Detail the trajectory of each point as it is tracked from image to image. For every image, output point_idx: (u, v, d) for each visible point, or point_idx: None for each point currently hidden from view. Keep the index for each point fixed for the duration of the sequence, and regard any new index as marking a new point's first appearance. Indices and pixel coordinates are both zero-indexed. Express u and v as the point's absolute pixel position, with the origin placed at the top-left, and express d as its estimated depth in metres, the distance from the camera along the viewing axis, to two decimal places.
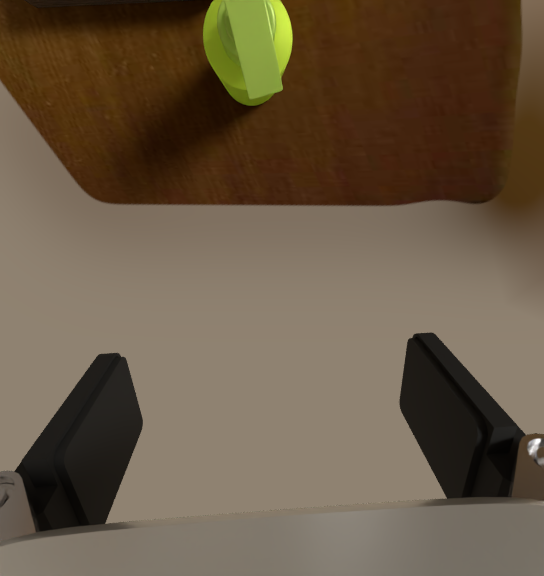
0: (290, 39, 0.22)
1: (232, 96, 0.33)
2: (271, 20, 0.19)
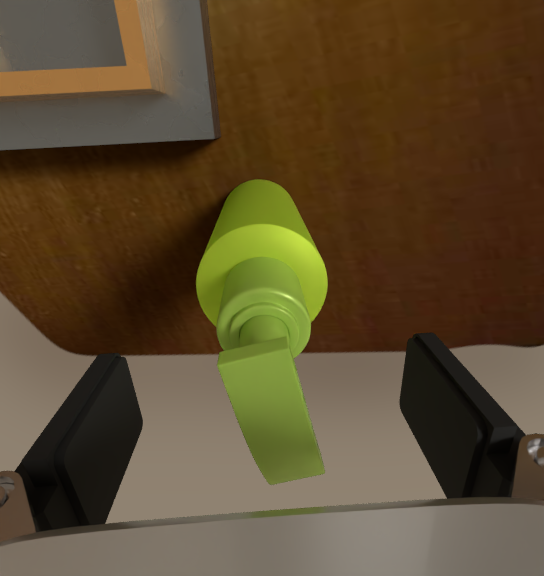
0: (324, 287, 0.15)
1: None
2: (303, 328, 0.12)
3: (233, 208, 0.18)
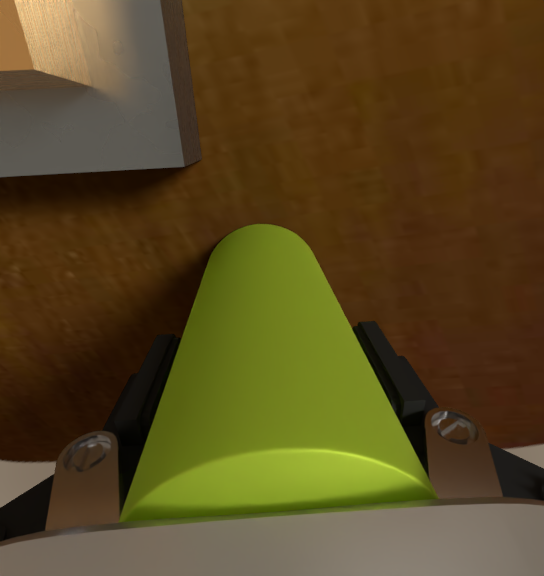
0: None
1: None
2: None
3: (216, 312, 0.09)
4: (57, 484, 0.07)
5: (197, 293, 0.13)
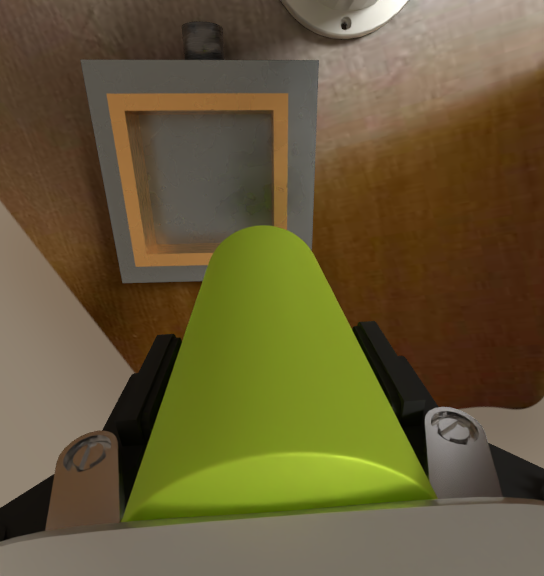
0: None
1: None
2: None
3: (217, 315, 0.09)
4: (57, 484, 0.07)
5: (198, 295, 0.13)
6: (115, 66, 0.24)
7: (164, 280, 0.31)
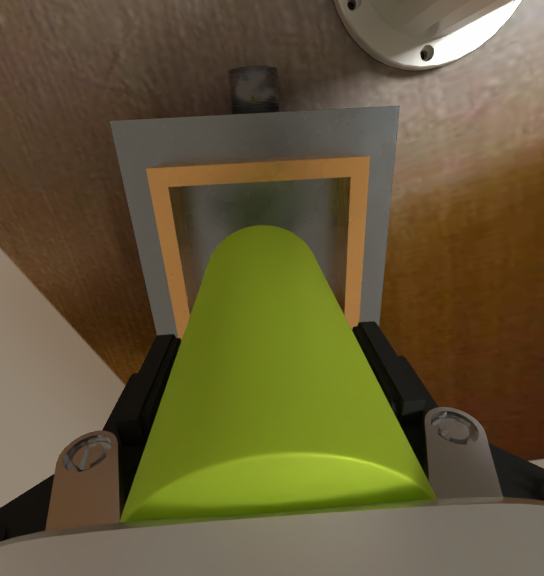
0: None
1: None
2: None
3: (216, 314, 0.09)
4: (57, 484, 0.07)
5: (197, 294, 0.13)
6: (151, 126, 0.20)
7: None
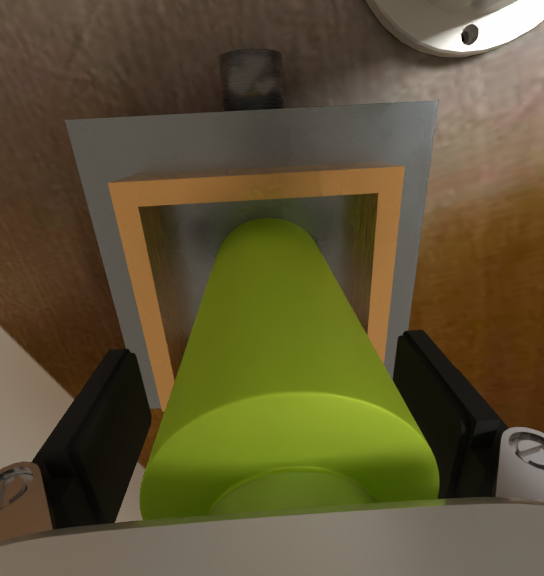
0: None
1: None
2: None
3: (229, 292, 0.10)
4: None
5: (208, 280, 0.14)
6: (119, 127, 0.15)
7: None
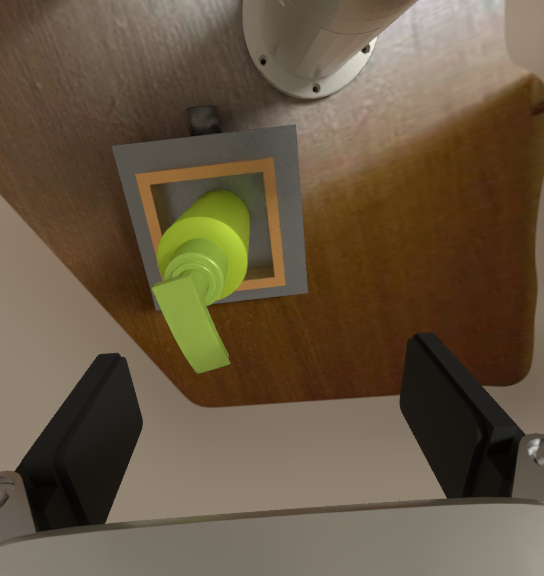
0: (245, 259, 0.22)
1: None
2: (218, 278, 0.19)
3: (187, 210, 0.25)
4: None
5: None
6: (138, 147, 0.31)
7: None
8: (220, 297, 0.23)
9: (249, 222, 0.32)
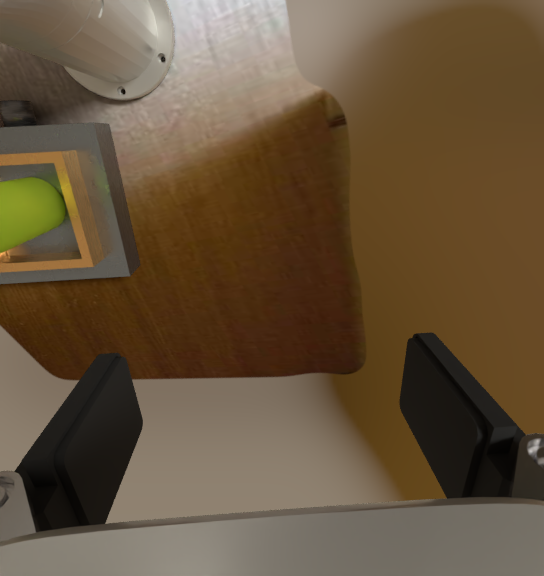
0: None
1: None
2: None
3: None
4: None
5: None
6: None
7: (20, 281, 0.41)
8: None
9: (51, 208, 0.36)
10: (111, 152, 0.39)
